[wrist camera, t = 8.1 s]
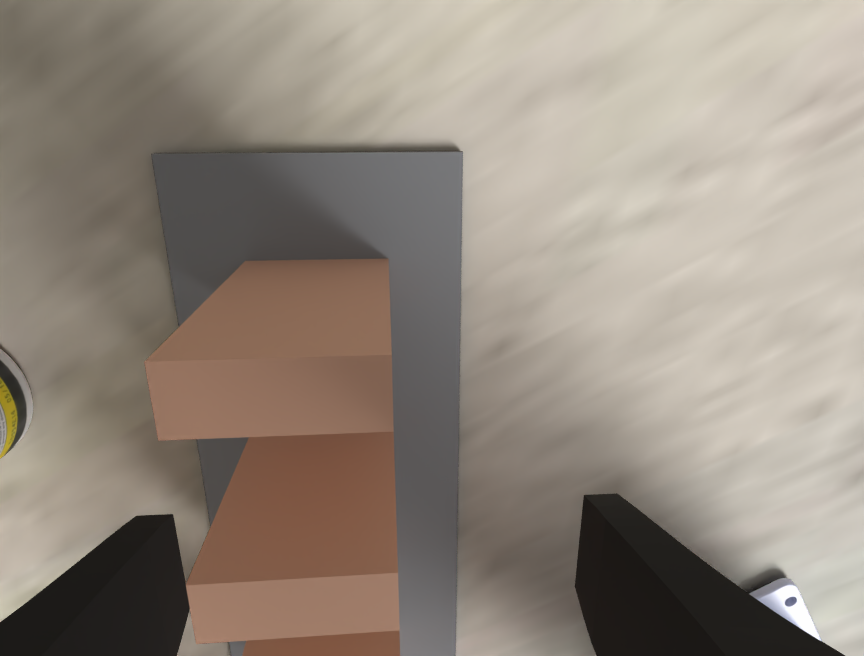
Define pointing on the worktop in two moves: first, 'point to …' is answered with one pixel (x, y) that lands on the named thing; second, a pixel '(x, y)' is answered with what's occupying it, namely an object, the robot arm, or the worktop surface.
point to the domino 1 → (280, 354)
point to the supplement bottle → (13, 404)
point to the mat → (409, 311)
